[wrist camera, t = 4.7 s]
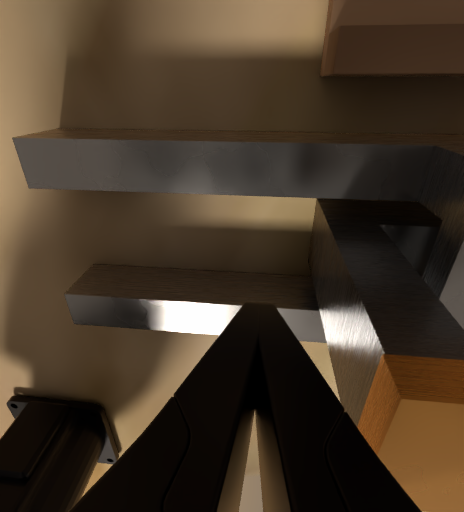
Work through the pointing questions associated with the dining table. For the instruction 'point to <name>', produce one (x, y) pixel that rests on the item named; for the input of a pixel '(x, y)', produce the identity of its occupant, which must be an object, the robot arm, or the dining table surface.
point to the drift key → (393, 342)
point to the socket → (247, 184)
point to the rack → (394, 38)
